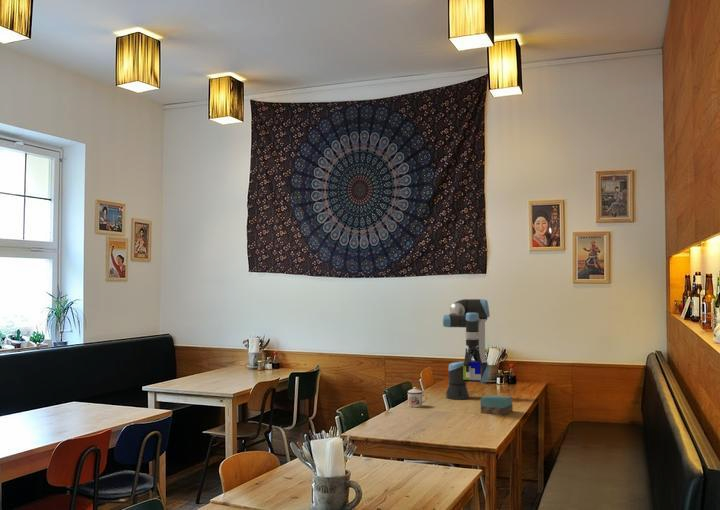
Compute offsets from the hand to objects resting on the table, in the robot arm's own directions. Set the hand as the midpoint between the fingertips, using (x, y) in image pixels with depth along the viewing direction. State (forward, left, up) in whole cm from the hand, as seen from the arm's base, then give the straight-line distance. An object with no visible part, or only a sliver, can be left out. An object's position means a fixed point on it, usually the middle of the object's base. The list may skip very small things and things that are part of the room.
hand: (472, 376), depth 389 cm
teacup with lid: (-36, -1, -21) cm, 42 cm away
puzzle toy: (0, 0, -2) cm, 2 cm away
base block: (+12, +8, -22) cm, 26 cm away
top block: (+12, +8, -17) cm, 22 cm away
